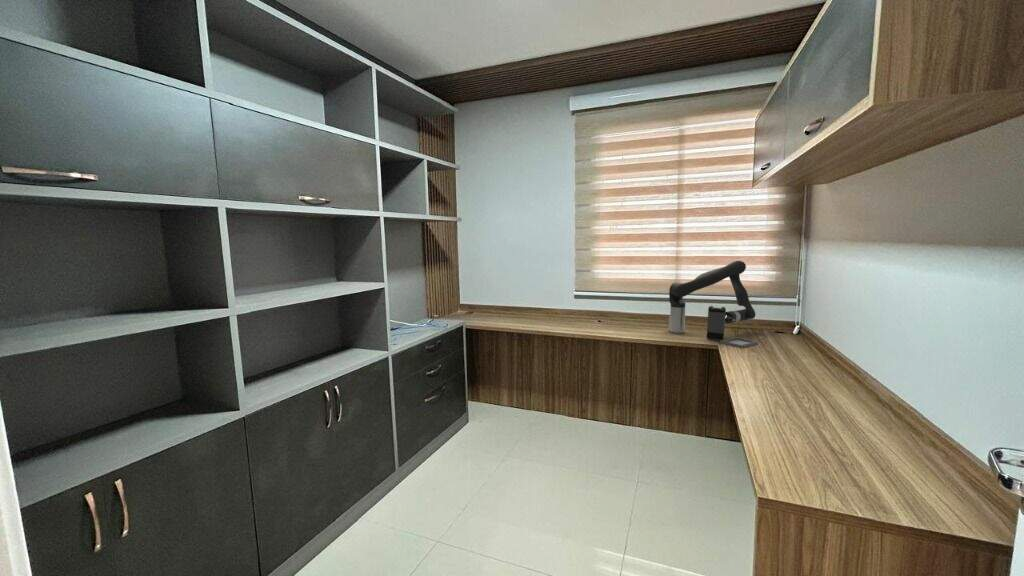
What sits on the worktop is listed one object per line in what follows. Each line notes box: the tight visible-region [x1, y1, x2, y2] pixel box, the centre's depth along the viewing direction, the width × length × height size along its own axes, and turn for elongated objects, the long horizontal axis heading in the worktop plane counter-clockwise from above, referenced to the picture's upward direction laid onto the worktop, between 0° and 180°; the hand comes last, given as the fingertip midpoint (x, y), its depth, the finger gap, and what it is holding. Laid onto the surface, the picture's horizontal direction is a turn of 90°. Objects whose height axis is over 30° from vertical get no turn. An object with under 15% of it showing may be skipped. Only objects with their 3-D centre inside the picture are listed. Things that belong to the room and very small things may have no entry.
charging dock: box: [719, 336, 759, 349], centre depth 234 cm, size 13×16×2 cm
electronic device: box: [706, 305, 727, 341], centre depth 243 cm, size 9×6×20 cm, turn 60°
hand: (714, 319), depth 244 cm, fingers closed on electronic device, 5 cm apart
